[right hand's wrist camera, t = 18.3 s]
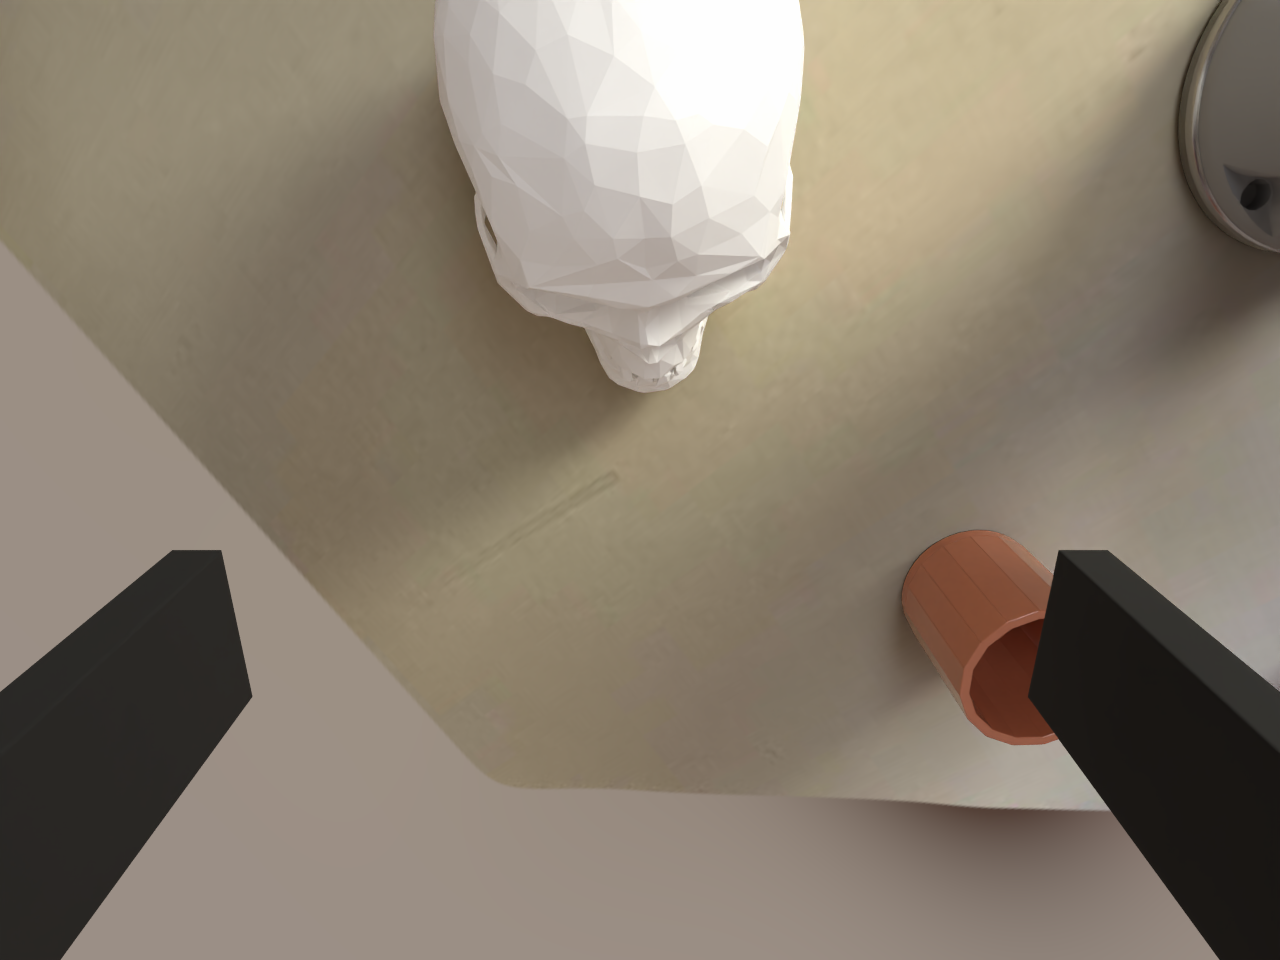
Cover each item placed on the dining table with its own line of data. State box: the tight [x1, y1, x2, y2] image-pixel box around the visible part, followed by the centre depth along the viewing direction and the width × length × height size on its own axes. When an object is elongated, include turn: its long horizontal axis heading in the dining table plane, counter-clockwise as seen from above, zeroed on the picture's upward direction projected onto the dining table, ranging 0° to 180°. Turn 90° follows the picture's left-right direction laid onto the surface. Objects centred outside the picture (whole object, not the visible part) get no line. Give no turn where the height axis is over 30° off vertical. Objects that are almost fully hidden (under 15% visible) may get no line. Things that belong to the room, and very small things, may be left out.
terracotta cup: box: [902, 530, 1058, 745], centre depth 44 cm, size 8×8×9 cm
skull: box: [434, 0, 804, 393], centre depth 31 cm, size 13×22×16 cm, turn 11°
